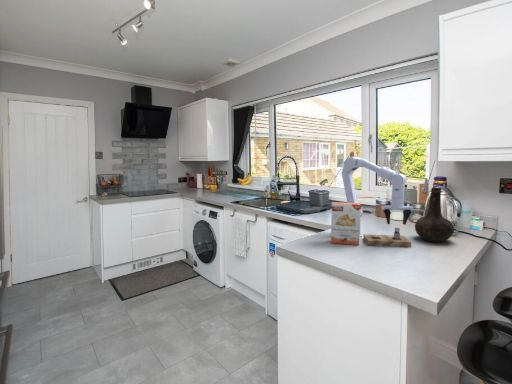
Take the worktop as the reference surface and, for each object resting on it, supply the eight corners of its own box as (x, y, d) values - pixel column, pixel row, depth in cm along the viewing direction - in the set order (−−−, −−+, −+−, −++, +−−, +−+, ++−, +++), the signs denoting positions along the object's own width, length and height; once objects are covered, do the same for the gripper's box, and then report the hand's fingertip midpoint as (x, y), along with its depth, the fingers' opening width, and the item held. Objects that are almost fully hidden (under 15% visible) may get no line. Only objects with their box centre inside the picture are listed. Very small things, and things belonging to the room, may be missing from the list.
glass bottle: (433, 246, 143) (437, 190, 140) (406, 236, 160) (409, 186, 157) (461, 243, 148) (466, 188, 144) (432, 234, 165) (435, 185, 162)
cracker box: (330, 243, 148) (331, 203, 146) (330, 240, 154) (331, 201, 152) (359, 245, 145) (361, 204, 143) (358, 242, 151) (359, 202, 148)
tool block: (368, 245, 145) (368, 240, 145) (363, 238, 157) (363, 234, 156) (411, 247, 142) (411, 242, 142) (402, 240, 154) (403, 235, 153)
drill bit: (394, 244, 147) (395, 228, 146) (392, 242, 150) (393, 227, 149) (400, 244, 147) (401, 228, 146) (398, 242, 150) (399, 227, 149)
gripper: (384, 198, 144) (383, 225, 146) (416, 199, 141) (414, 226, 143) (381, 196, 151) (379, 222, 152) (410, 197, 148) (409, 223, 150)
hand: (396, 224), depth 148 cm, fingers open, 7 cm apart
